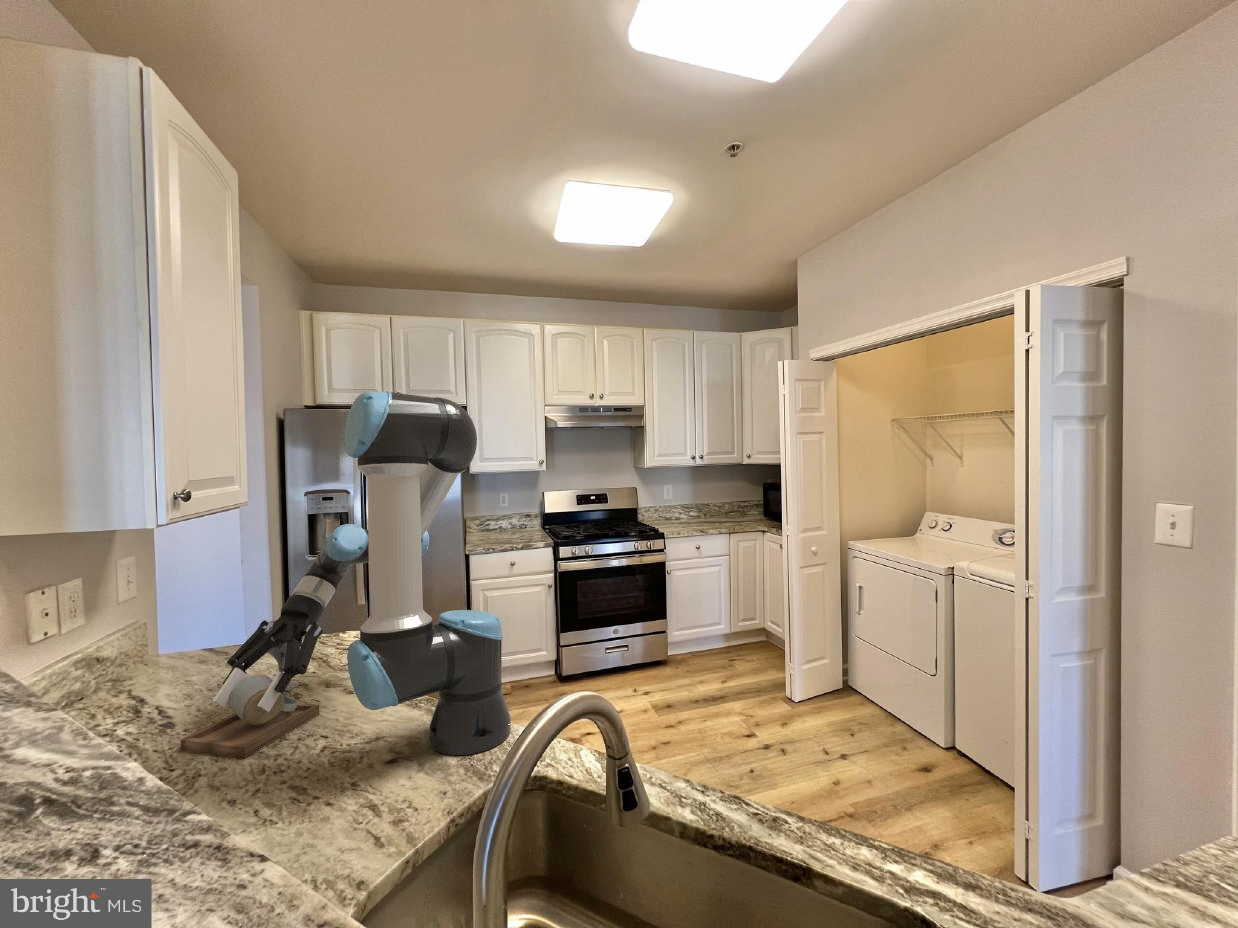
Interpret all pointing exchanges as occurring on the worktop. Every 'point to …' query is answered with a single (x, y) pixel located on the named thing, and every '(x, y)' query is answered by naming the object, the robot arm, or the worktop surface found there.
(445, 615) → the robot arm
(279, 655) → the wine glass
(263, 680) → the ceramic mug
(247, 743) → the walnut tray
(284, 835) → the worktop surface
